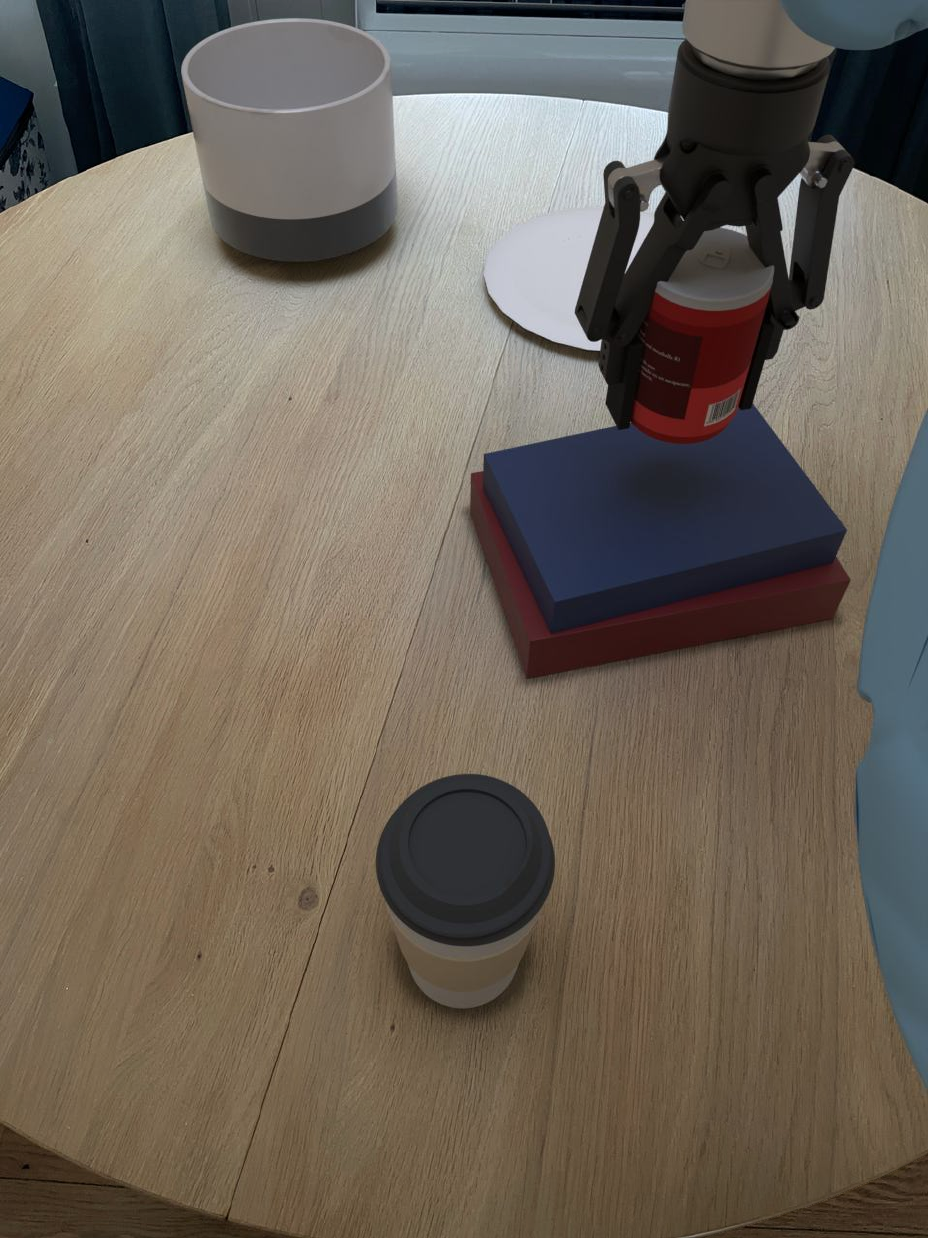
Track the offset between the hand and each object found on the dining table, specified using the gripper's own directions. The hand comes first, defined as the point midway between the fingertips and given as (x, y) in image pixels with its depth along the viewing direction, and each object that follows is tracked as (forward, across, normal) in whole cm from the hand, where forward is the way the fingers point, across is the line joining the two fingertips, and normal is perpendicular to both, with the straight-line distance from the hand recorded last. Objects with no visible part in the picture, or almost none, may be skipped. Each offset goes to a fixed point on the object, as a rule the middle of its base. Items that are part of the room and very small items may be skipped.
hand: (678, 405), depth 69 cm
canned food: (0, 0, 0) cm, 0 cm away
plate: (+16, -9, -36) cm, 40 cm away
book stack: (+16, 0, 0) cm, 16 cm away
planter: (+16, +19, -52) cm, 58 cm away
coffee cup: (+16, +21, +27) cm, 38 cm away
